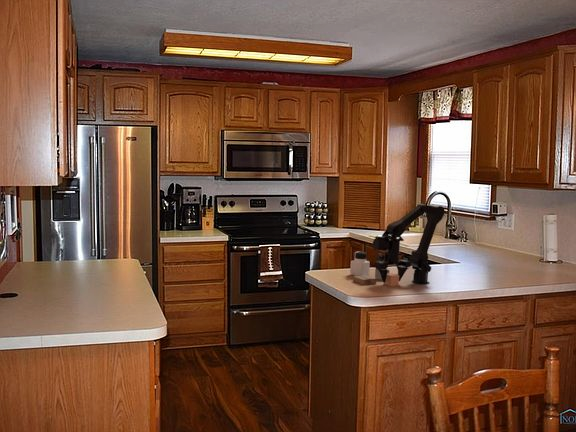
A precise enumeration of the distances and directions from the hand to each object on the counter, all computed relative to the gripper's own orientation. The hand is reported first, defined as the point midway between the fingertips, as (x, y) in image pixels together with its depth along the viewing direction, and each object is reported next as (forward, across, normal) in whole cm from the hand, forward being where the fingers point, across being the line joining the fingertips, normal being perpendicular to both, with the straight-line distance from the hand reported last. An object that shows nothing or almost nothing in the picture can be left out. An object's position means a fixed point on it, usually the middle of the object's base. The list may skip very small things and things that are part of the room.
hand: (391, 281), depth 294 cm
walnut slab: (+2, +10, -8) cm, 13 cm away
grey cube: (+1, -4, -12) cm, 13 cm away
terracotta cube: (+1, 0, 0) cm, 1 cm away
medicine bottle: (+1, +1, -24) cm, 24 cm away
